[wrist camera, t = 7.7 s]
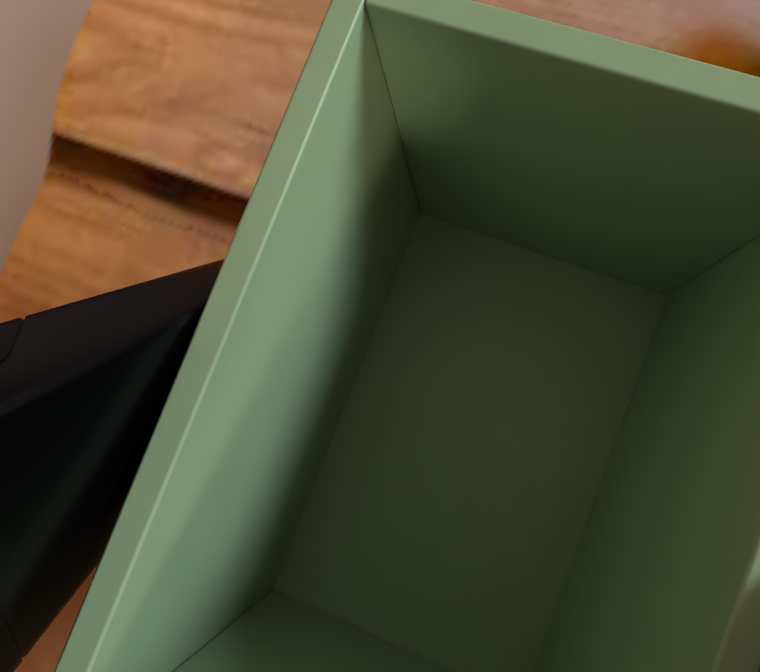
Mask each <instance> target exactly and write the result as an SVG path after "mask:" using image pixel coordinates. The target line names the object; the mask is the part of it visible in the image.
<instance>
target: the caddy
mask: <svg viewBox="0 0 760 672" xmlns="http://www.w3.org/2000/svg"><path fill="white" fill-rule="evenodd" d="M54 672H760V77H756V76H752V75H749V74H745V73H741V72H738V71H734V70H730V69H726V68H723V67H719V66H715V65H711V64H708V63H704V62H700V61H697V60H693V59H689V58H685V57H682V56H678V55H674V54H670V53H667V52H663V51H659V50H656V49H652V48H648V47H644V46H641V45H637V44H633V43H630V42H626V41H622V40H618V39H615V38H611V37H607V36H603V35H600V34H596V33H592V32H589V31H585V30H581V29H577V28H574V27H570V26H566V25H563V24H559V23H555V22H551V21H548V20H544V19H540V18H536V17H533V16H529V15H525V14H522V13H518V12H514V11H510V10H507V9H503V8H499V7H495V6H492V5H488V4H484V3H481V2H477V1H473V0H331V2H330V5H329V7H328V10H327V12H326V15H325V17H324V19H323V22H322V24H321V27H320V29H319V32H318V34H317V36H316V39H315V41H314V44H313V46H312V48H311V51H310V53H309V56H308V58H307V61H306V63H305V65H304V68H303V70H302V73H301V75H300V78H299V80H298V82H297V85H296V87H295V90H294V92H293V94H292V97H291V99H290V102H289V104H288V107H287V109H286V111H285V114H284V116H283V119H282V121H281V123H280V126H279V128H278V131H277V133H276V136H275V138H274V140H273V143H272V145H271V148H270V150H269V153H268V155H267V157H266V160H265V162H264V165H263V167H262V169H261V172H260V174H259V177H258V179H257V182H256V184H255V186H254V189H253V191H252V194H251V196H250V199H249V201H248V203H247V206H246V208H245V211H244V213H243V215H242V218H241V220H240V223H239V225H238V228H237V230H236V232H235V235H234V237H233V240H232V242H231V245H230V247H229V249H228V252H227V254H226V257H225V259H224V261H223V264H222V266H221V269H220V271H219V274H218V276H217V278H216V281H215V283H214V286H213V288H212V291H211V293H210V295H209V298H208V300H207V303H206V305H205V307H204V310H203V312H202V315H201V317H200V320H199V322H198V324H197V327H196V329H195V332H194V334H193V337H192V339H191V341H190V344H189V346H188V349H187V351H186V353H185V356H184V358H183V361H182V363H181V366H180V368H179V370H178V373H177V375H176V378H175V380H174V383H173V385H172V387H171V390H170V392H169V395H168V397H167V399H166V402H165V404H164V407H163V409H162V412H161V414H160V416H159V419H158V421H157V424H156V426H155V429H154V431H153V433H152V436H151V438H150V441H149V443H148V445H147V448H146V450H145V453H144V455H143V458H142V460H141V462H140V465H139V467H138V470H137V472H136V474H135V477H134V479H133V482H132V484H131V487H130V489H129V491H128V494H127V496H126V499H125V501H124V504H123V506H122V508H121V511H120V513H119V516H118V518H117V520H116V523H115V525H114V528H113V530H112V533H111V535H110V537H109V540H108V542H107V545H106V547H105V550H104V552H103V554H102V557H101V559H100V562H99V564H98V566H97V569H96V571H95V574H94V576H93V579H92V581H91V583H90V586H89V588H88V591H87V593H86V596H85V598H84V600H83V603H82V605H81V608H80V610H79V612H78V615H77V617H76V620H75V622H74V625H73V627H72V629H71V632H70V634H69V637H68V639H67V642H66V644H65V646H64V649H63V651H62V654H61V656H60V658H59V661H58V663H57V666H56V668H55V671H54Z"/></svg>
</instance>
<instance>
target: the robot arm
mask: <svg viewBox="0 0 760 672" xmlns="http://www.w3.org/2000/svg"><path fill="white" fill-rule="evenodd" d="M223 261H224V259H223V260H219V261H216V262H212V263H209V264H205V265H202V266H198V267H195V268H191V269H188V270H184V271H181V272H178V273H174V274H171V275H167V276H164V277H160V278H157V279H153V280H150V281H146V282H143V283H139V284H136V285H132V286H129V287H126V288H122V289H119V290H115V291H112V292H108V293H105V294H101V295H98V296H94V297H91V298H87V299H84V300H80V301H77V302H73V303H70V304H66V305H63V306H59V307H56V308H52V309H49V310H46V311H42V312H39V313H35V314H32V315H28V316H26V317H25V319H24V320H23V319H22V318H17V319H14V320H10V321H7V322H4V323H0V672H14V671H15V670H16V669H17V667H18V666H19V665H20V663H21V662H22V657H25V656H26V655H27V654H28V653H29V651H30V650H31V649H32V647H33V646H34V645H35V644H36V642H37V641H38V640H39V639H40V637H41V636H42V635H43V633H44V632H45V631H46V630H47V628H48V627H49V626H50V624H51V623H52V622H53V621H54V619H55V618H56V617H57V616H58V614H59V613H60V612H61V610H62V609H63V608H64V607H65V605H66V604H67V603H68V602H69V600H70V599H71V598H72V596H73V595H74V594H75V593H76V591H77V590H78V589H79V587H80V586H81V585H82V584H83V582H84V581H85V580H86V579H87V577H88V576H89V575H90V573H91V572H92V571H93V570H94V568H95V567H96V566H97V564H98V563H99V562H100V559H101V557H102V554H103V552H104V550H105V547H106V545H107V542H108V540H109V537H110V535H111V533H112V530H113V528H114V525H115V523H116V520H117V518H118V516H119V513H120V511H121V508H122V506H123V504H124V501H125V499H126V496H127V494H128V491H129V489H130V487H131V484H132V482H133V479H134V477H135V474H136V472H137V470H138V467H139V465H140V462H141V460H142V458H143V455H144V453H145V450H146V448H147V445H148V443H149V441H150V438H151V436H152V433H153V431H154V429H155V426H156V424H157V421H158V419H159V416H160V414H161V412H162V409H163V407H164V404H165V402H166V399H167V397H168V395H169V392H170V390H171V387H172V385H173V383H174V380H175V378H176V375H177V373H178V370H179V368H180V366H181V363H182V361H183V358H184V356H185V353H186V351H187V349H188V346H189V344H190V341H191V339H192V337H193V334H194V332H195V329H196V327H197V324H198V322H199V320H200V317H201V315H202V312H203V310H204V307H205V305H206V303H207V300H208V298H209V295H210V293H211V291H212V288H213V286H214V283H215V281H216V278H217V276H218V274H219V271H220V269H221V266H222V264H223Z"/></svg>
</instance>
